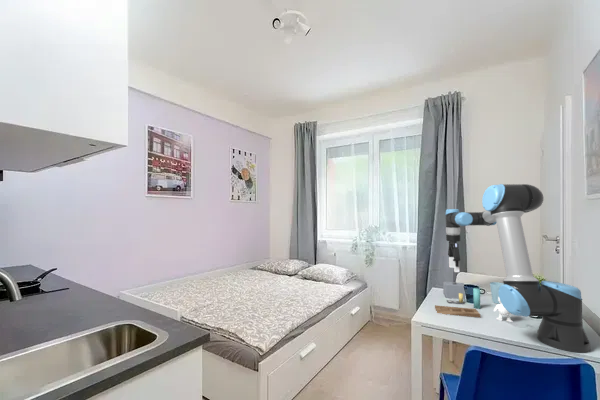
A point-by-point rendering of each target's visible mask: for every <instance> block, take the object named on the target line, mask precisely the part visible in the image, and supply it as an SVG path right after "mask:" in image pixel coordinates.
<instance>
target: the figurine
mask: <svg viewBox="0 0 600 400" xmlns="http://www.w3.org/2000/svg"><path fill="white" fill-rule="evenodd" d="M498 301H499V303H501V301H500V298H499V297H498ZM493 312H498V317H496V321H500V322H502V321H503V316H505V317H506V322H508V323H509V322H510V323H513V320H512V319H511V317H510V314H511V313H509V312H508V311H507V310H506V309H505V308H504V306H503V305H502V303H501V304H496V305H495V306H494V308H493Z"/></svg>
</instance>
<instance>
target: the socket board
mask: <svg viewBox="0 0 600 400" xmlns="http://www.w3.org/2000/svg"><path fill="white" fill-rule="evenodd" d="M434 310H435V312H436V311H437V312H436V313H442V314H441V315H447V314H450V315H449V316H458V315H459V316H461V317H471V318H479V319H480V318H481V314H480V312H479V311H478V310H477V309H476V308H469V307H458V306H445V305H434Z"/></svg>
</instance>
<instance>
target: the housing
mask: <svg viewBox="0 0 600 400" xmlns="http://www.w3.org/2000/svg"><path fill="white" fill-rule="evenodd" d="M464 285H466V284H465V283H464V282H456V281H442V287H443V288H442V290H443V291H442V293H443V296H444V297H445V298H446V299H458V300H459V293H462V294H463V300H466V299H465V293H464V288H463V286H464Z"/></svg>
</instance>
